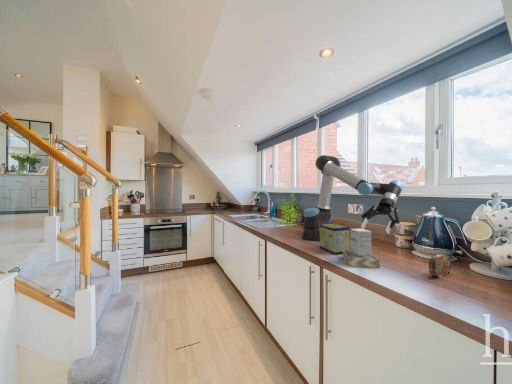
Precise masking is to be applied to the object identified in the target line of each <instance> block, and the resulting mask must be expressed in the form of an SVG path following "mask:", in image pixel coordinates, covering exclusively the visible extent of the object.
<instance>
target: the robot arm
mask: <svg viewBox="0 0 512 384" xmlns="http://www.w3.org/2000/svg"><path fill="white" fill-rule="evenodd" d="M341 166H342V163H341V160H340V159H339V158H338V157H336V156H333V155H332V156H331V155H325V154H324V155H320V156H318V157H317V158H316V160H315V167H316V168H317V170H319V171H320V173H321V174H322V178H321V183H320V190H319V196H318V197H319V198H318V202H317V203H318V204H316V205H315V207H309V208H305V209H304V210H303V214H302V215H303V230H302V233H301V239H302V240H304V241H309V242H318V241H319V242H320V224H328V223H329V222H331V221H332V219H333V212H332V208H331V207H330V204H331V203H330V202H331V198H332V191H333V185H334V178H336V179H338V180H339V181H341V182H342V183H344V184H346V185H348V186H350V187H351V188H352V189H355V190H356V191H357V192H358V193H359V194H360V195H362V196H373V195H376V196H377V195H378V196H381V199H380V200H379V203H378V206H375V205H372V206H371V207H370V208H369V209H368V210H367V211H365V212H364V213H363V214H361V218H362V220H361V225H360V228H362V229H365V228H366V226H367V223H368V222H369V220H370V219H371V218H374V217H375V216H378V215H381V216H382V215H383V216H386V215H387V216H388V218H389V220H390V221H389V222H388V224H387V226H386V229H385V232H386V234H388V235H389V234H390V232H391V230H392V229H394V228H395V225H396V224H397V225H399V224H401V222H400V217H399V210H398V207H395V205H396V203H397V201H398V199H399V196H400V195H401V193H402V191H403V188H404V185H403V183H402V182H401V181H399V180H397V179H394V180H391V181H389V183H382V182H381V183H380V182H369V181H367V180H365V179H363V178H361V177H359V176H357V175H355V174H354V173H351V172H350V171H348V170H346V169H345V168H343V167H341ZM391 213H393V214H394V218H393V216H392V215H391Z"/></svg>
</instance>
